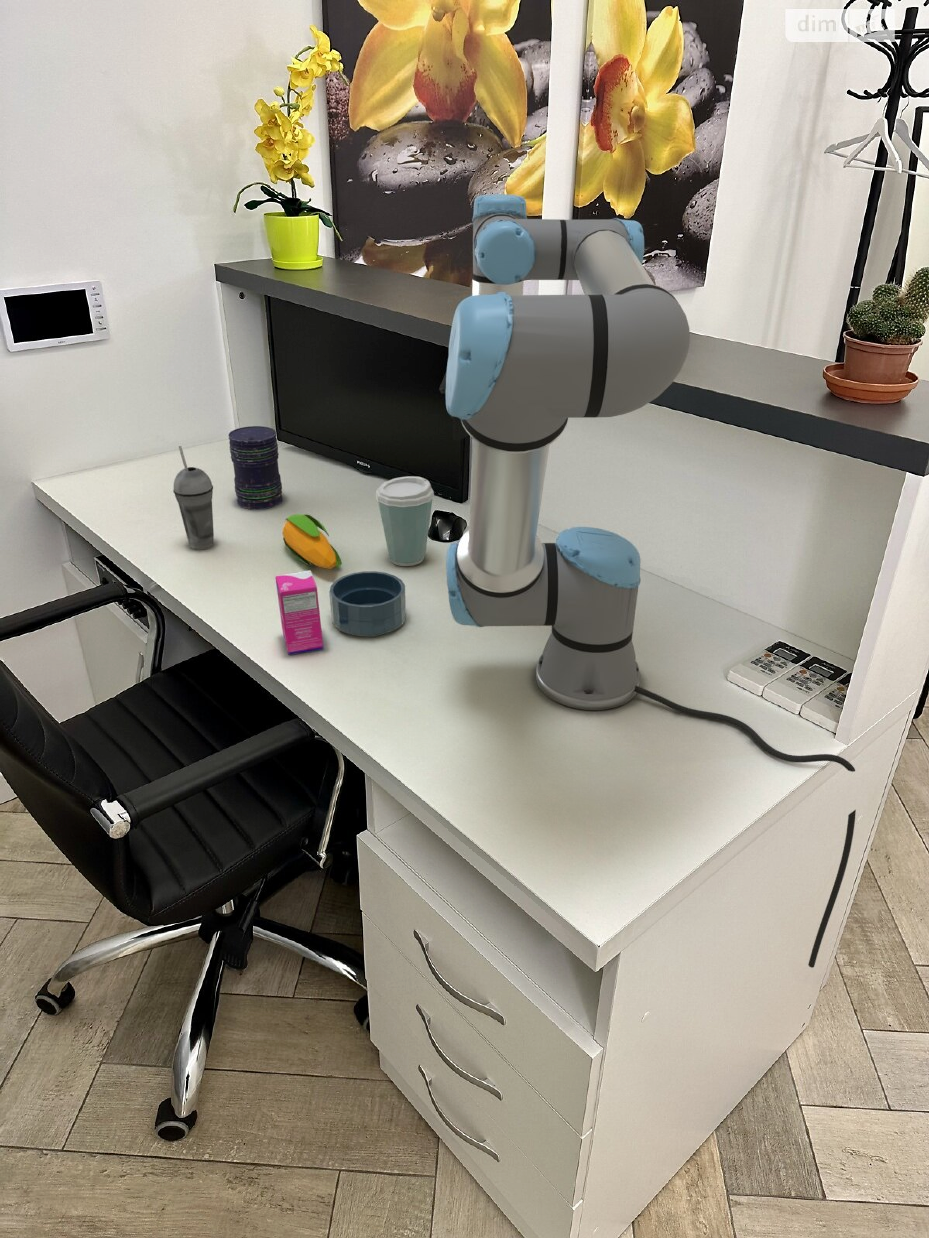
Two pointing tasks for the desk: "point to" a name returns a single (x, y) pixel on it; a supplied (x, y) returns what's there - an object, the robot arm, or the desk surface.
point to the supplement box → (299, 612)
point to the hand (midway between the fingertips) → (493, 447)
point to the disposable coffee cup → (405, 518)
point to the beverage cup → (195, 505)
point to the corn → (309, 541)
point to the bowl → (368, 603)
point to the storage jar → (256, 467)
